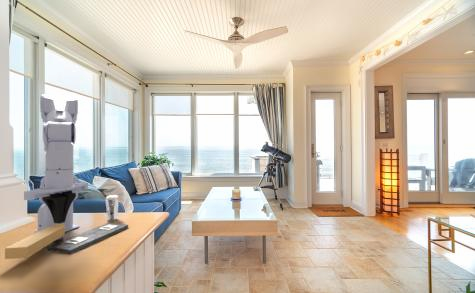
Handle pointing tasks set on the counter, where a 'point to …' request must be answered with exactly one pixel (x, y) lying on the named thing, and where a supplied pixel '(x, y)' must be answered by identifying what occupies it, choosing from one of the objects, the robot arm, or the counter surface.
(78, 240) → the panel
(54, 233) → the light wooden plank
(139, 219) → the counter surface
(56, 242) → the pivot plinth
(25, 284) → the counter surface
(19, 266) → the counter surface
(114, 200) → the milkshake
